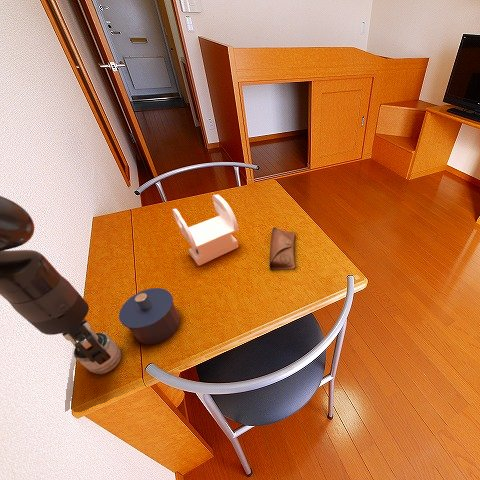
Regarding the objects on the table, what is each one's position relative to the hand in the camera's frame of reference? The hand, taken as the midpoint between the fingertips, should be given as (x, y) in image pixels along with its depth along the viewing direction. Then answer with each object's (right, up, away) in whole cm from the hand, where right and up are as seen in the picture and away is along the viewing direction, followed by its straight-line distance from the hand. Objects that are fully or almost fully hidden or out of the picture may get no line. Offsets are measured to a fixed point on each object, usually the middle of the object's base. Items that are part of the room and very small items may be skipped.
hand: (96, 348), depth 59 cm
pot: (+7, +2, +11) cm, 13 cm away
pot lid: (+7, +7, +6) cm, 12 cm away
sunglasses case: (+36, +20, +34) cm, 53 cm away
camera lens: (0, -5, +4) cm, 6 cm away
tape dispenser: (+13, +20, +33) cm, 40 cm away
